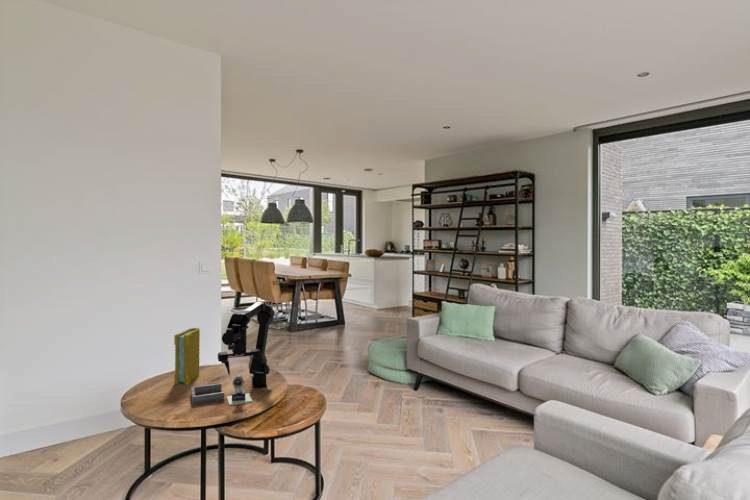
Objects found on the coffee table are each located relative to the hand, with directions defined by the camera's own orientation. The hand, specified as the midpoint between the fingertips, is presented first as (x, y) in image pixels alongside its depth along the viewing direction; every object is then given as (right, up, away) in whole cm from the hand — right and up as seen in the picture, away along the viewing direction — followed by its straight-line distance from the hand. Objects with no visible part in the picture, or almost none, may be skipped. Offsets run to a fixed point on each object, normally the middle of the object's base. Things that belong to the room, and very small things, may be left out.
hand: (239, 373), depth 188 cm
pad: (0, -12, 0) cm, 12 cm away
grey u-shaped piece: (-16, -12, +3) cm, 20 cm away
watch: (0, -12, 0) cm, 12 cm away
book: (-36, -11, +27) cm, 46 cm away
